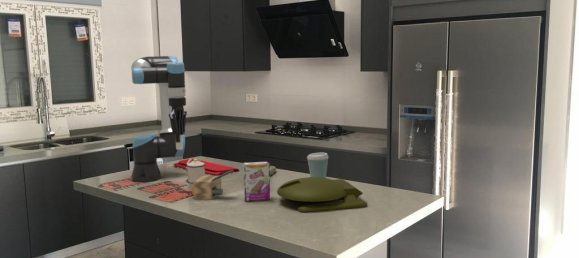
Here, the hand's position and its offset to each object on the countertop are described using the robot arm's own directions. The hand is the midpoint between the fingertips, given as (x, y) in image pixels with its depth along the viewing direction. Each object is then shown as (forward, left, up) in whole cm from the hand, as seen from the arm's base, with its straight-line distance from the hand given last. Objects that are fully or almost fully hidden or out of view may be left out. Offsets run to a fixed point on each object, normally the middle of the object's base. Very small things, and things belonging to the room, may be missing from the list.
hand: (179, 149), depth 221 cm
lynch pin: (+12, +7, -22) cm, 26 cm away
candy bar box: (+32, +18, -22) cm, 42 cm away
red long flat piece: (-39, +41, -22) cm, 61 cm away
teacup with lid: (-19, +20, -22) cm, 35 cm away
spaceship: (+53, +34, -22) cm, 67 cm away
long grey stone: (+1, +48, -22) cm, 53 cm away
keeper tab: (+18, +10, -12) cm, 24 cm away
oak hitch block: (+10, +8, -22) cm, 25 cm away
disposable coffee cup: (+33, +57, -22) cm, 69 cm away
